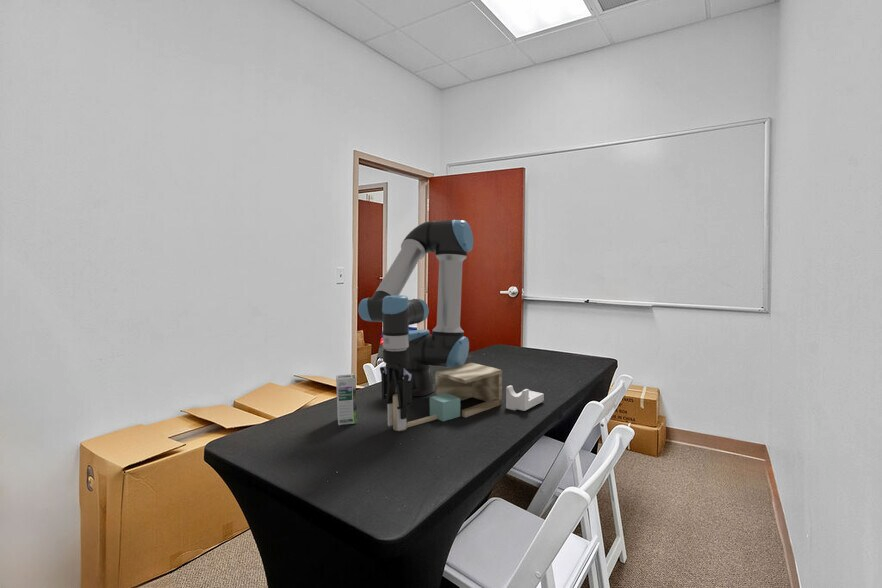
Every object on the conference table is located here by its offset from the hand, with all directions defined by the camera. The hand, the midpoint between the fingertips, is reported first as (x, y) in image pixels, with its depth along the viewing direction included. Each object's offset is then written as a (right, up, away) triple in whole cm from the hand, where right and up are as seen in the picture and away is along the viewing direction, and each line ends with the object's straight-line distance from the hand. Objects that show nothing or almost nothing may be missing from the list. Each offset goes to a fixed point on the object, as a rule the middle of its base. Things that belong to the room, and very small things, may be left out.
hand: (396, 426), depth 127 cm
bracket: (+42, 0, +21) cm, 47 cm away
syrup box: (-16, -1, +7) cm, 18 cm away
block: (+8, 0, +6) cm, 10 cm away
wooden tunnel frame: (+23, +1, +21) cm, 31 cm away
